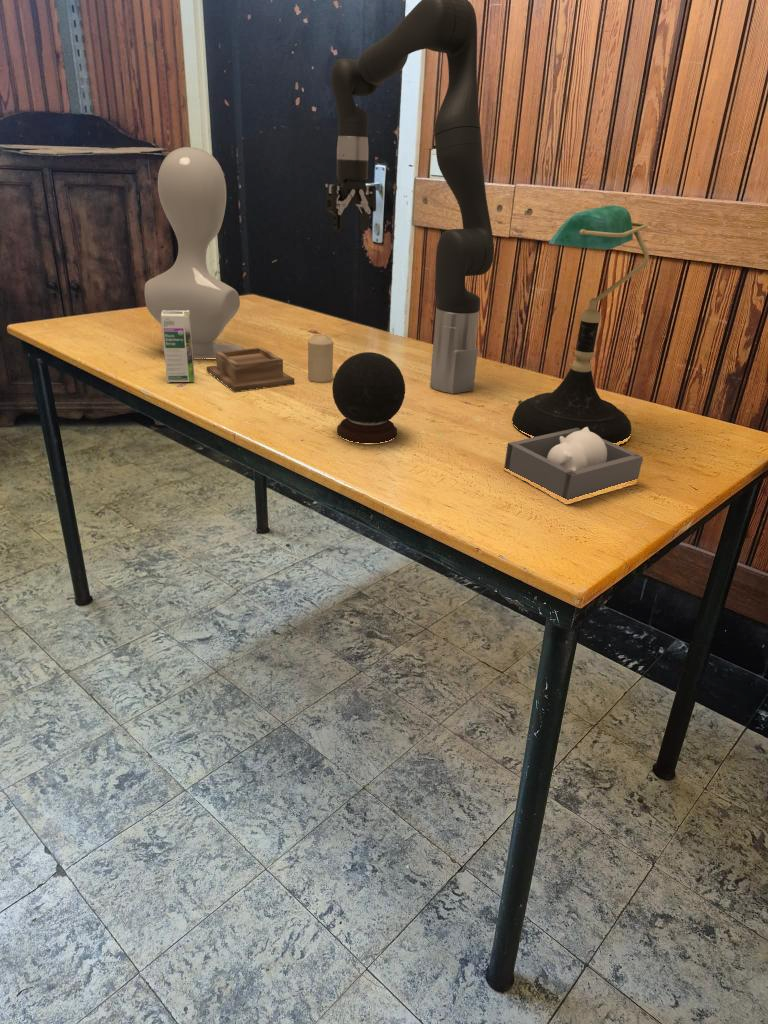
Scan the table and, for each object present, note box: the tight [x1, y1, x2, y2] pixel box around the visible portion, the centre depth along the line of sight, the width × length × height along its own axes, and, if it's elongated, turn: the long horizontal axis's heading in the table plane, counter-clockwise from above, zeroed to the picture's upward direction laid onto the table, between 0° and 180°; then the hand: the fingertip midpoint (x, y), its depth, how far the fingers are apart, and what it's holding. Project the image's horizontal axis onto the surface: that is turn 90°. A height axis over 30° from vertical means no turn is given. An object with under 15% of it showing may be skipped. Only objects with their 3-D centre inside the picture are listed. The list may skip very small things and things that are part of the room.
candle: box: [307, 333, 334, 383], centre depth 156 cm, size 6×6×10 cm
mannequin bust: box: [144, 146, 243, 360], centre depth 163 cm, size 22×20×45 cm
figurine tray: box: [503, 428, 644, 500], centre depth 116 cm, size 14×16×5 cm
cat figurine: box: [547, 427, 607, 471], centre depth 116 cm, size 9×11×12 cm
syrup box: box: [160, 310, 195, 383], centre depth 150 cm, size 6×6×14 cm
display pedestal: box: [206, 346, 295, 392], centre depth 155 cm, size 16×14×5 cm
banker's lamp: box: [511, 204, 650, 443], centre depth 129 cm, size 26×23×40 cm
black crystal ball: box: [331, 351, 406, 443], centre depth 127 cm, size 13×13×15 cm
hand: (351, 230), depth 175 cm, fingers open, 8 cm apart
